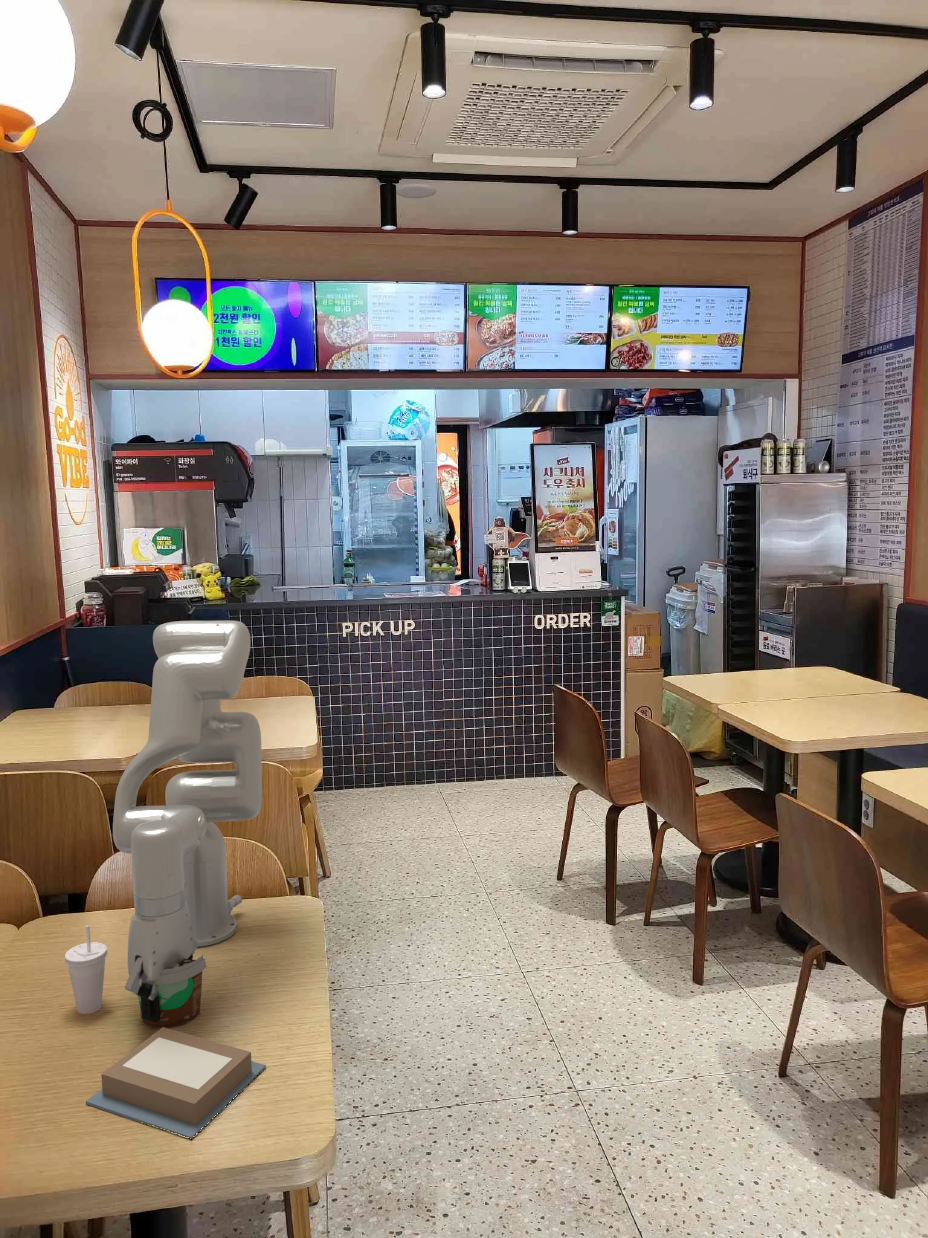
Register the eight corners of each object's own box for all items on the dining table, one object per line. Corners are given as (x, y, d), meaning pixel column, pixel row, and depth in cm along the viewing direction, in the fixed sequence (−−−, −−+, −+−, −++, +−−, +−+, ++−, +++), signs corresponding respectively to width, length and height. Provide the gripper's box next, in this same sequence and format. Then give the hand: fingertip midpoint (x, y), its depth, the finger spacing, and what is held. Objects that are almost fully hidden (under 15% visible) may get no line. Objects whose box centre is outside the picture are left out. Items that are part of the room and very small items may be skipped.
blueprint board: (167, 1039, 134) (166, 1018, 134) (266, 1068, 127) (265, 1045, 127) (85, 1104, 120) (84, 1080, 119) (191, 1140, 113) (190, 1115, 112)
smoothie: (95, 1021, 140) (90, 937, 138) (59, 1016, 141) (53, 933, 139) (118, 999, 146) (113, 918, 144) (84, 995, 147) (79, 915, 145)
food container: (116, 1029, 137) (113, 968, 136) (137, 1007, 143) (134, 949, 142) (190, 1036, 135) (187, 975, 134) (208, 1014, 141) (206, 955, 140)
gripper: (178, 875, 147) (183, 978, 149) (99, 920, 131) (106, 1033, 133) (215, 883, 144) (219, 987, 146) (138, 929, 128) (144, 1045, 130)
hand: (165, 1008), depth 140 cm, fingers closed on food container, 5 cm apart
